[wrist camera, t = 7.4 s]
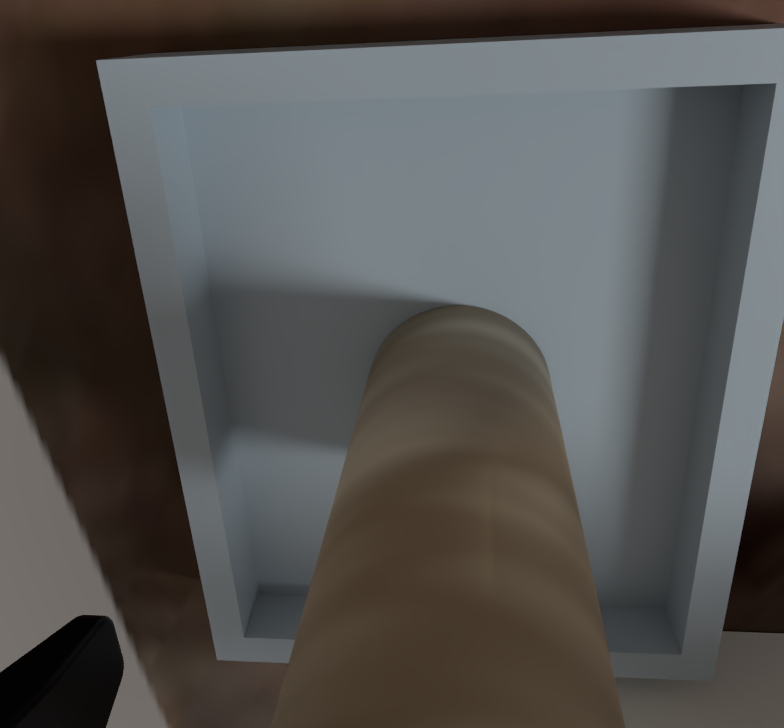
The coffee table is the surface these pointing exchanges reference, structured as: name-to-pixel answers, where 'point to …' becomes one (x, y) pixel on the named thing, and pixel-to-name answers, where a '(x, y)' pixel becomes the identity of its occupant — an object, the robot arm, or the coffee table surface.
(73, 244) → the coffee table surface
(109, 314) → the coffee table surface
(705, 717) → the white open box
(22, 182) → the coffee table surface
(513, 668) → the beech dowel
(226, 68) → the slate tray
